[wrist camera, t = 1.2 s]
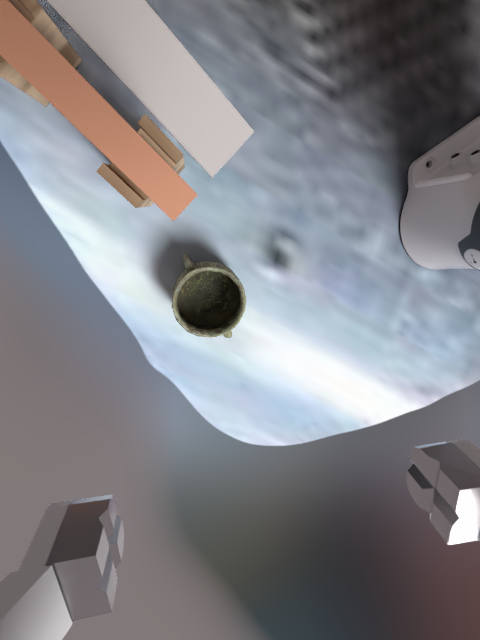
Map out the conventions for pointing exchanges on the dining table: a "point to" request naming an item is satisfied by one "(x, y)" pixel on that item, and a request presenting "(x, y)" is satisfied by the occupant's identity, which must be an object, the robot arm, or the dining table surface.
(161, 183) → the rail
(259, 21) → the dining table surface
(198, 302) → the vessel
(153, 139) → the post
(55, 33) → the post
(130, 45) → the mat
